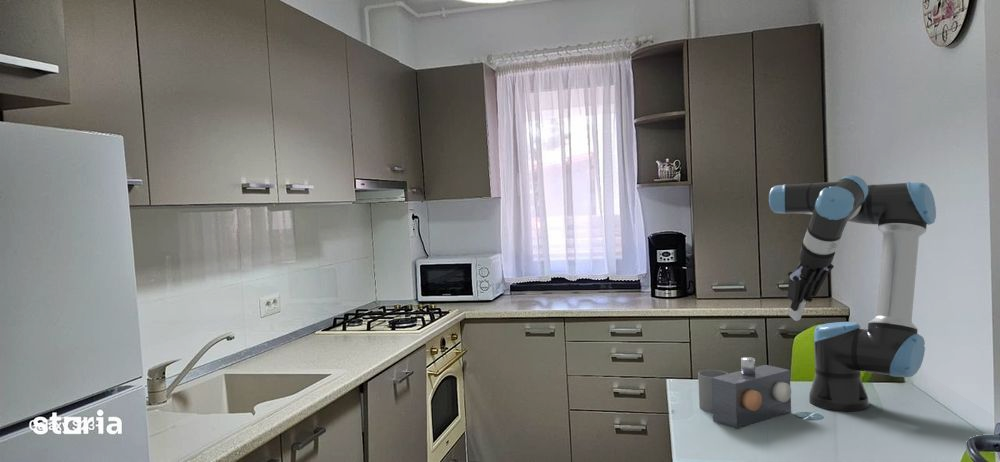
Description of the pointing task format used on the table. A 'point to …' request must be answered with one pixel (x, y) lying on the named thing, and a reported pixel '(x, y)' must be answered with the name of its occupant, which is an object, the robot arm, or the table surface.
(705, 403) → the cup
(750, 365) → the dial
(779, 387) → the knob
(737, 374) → the grey puzzle box
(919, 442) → the table surface
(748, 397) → the knob
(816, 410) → the table surface
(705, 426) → the table surface
